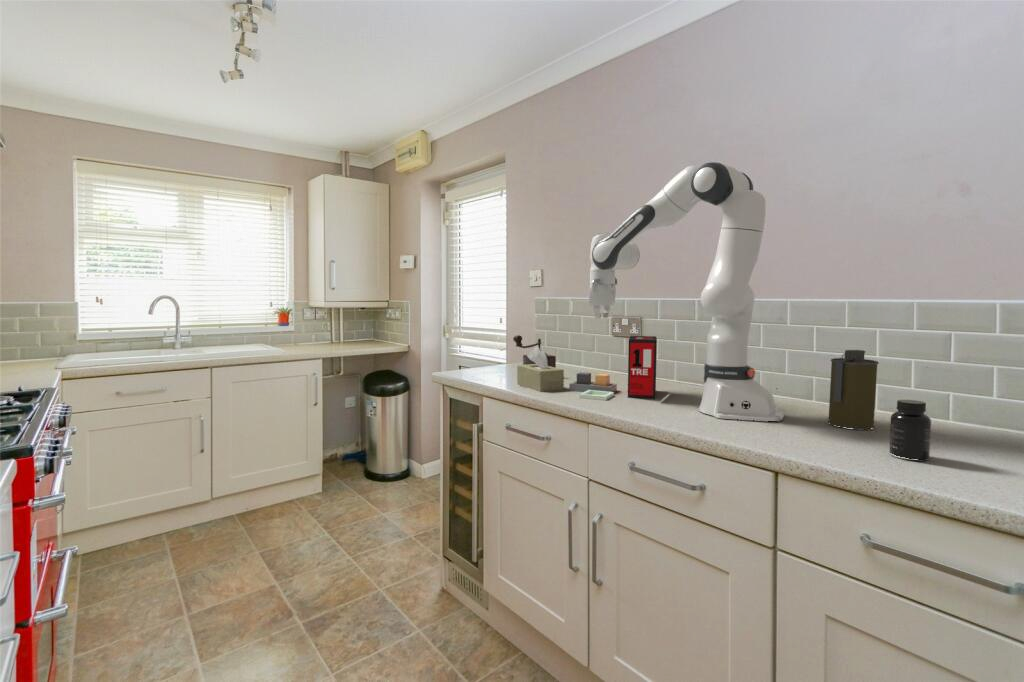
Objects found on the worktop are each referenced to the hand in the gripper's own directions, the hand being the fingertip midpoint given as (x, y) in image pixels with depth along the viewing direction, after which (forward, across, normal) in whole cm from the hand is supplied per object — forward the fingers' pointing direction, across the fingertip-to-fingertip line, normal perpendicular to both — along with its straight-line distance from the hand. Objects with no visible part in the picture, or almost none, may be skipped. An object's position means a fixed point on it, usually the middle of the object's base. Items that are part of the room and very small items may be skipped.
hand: (601, 318), depth 185 cm
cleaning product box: (+27, -3, -16) cm, 31 cm away
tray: (+26, -16, -4) cm, 31 cm away
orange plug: (+26, -5, -2) cm, 26 cm away
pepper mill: (+26, +15, +34) cm, 46 cm away
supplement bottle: (+27, -46, -82) cm, 98 cm away
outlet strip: (+26, -5, +1) cm, 27 cm away
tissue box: (+27, -6, +22) cm, 35 cm away
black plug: (+26, -5, +5) cm, 27 cm away
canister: (+27, -20, -75) cm, 82 cm away
